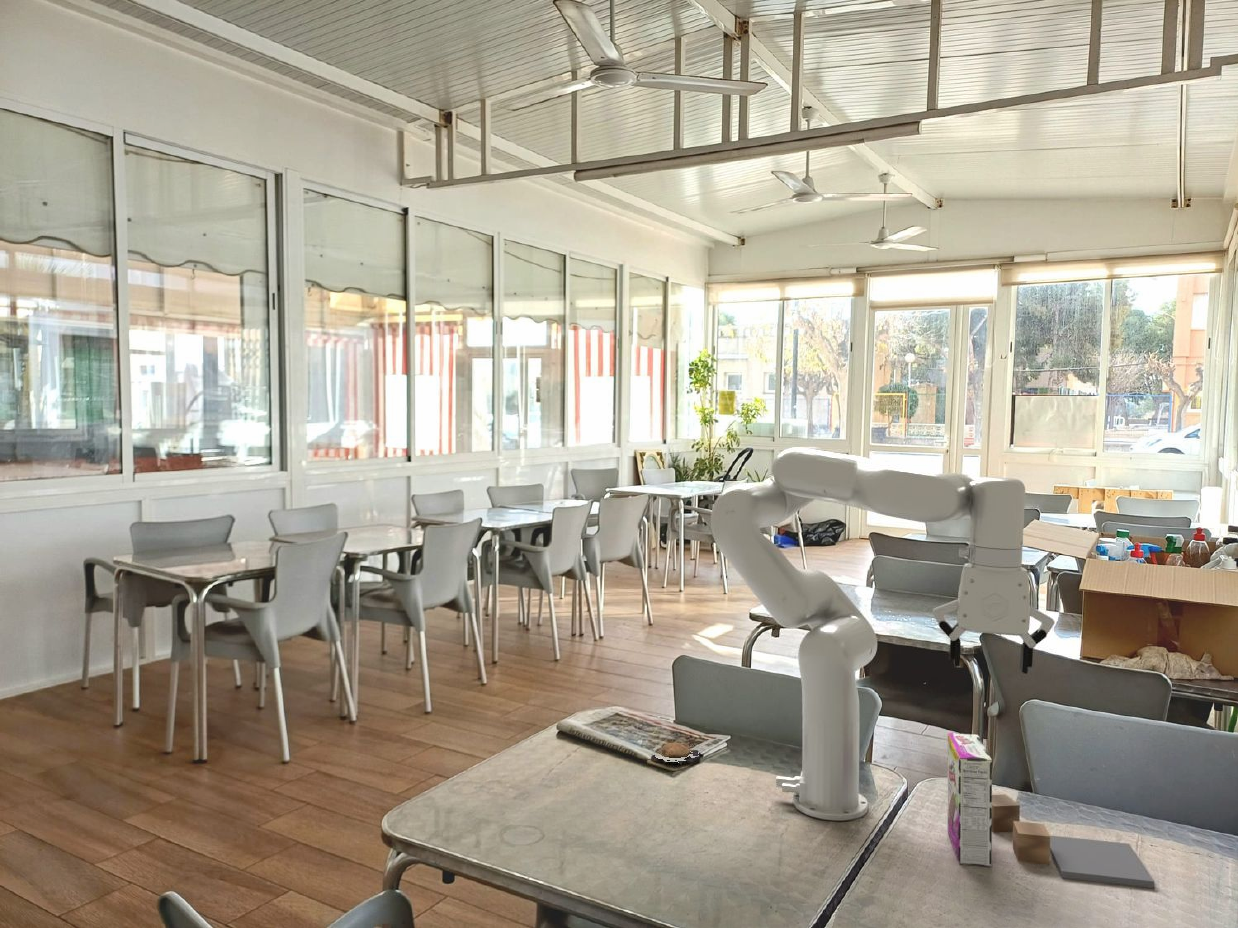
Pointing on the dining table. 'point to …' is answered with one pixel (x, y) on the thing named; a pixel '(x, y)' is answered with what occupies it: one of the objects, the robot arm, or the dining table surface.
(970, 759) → the candy bar box
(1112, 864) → the charcoal mat
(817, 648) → the robot arm
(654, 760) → the bread roll
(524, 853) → the dining table surface
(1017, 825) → the light brown wooden cube
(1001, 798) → the dark oak block
